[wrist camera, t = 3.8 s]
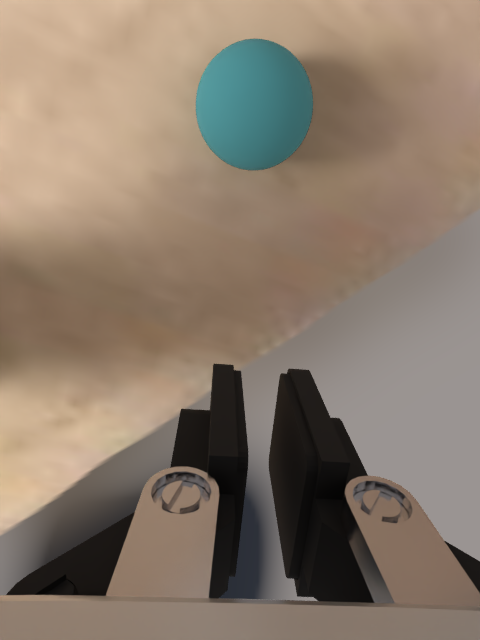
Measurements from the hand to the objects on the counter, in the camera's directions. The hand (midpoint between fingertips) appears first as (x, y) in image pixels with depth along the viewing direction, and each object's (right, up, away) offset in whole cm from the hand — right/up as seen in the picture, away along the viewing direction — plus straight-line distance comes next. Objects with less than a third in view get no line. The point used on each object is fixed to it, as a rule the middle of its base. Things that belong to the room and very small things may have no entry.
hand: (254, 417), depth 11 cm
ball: (0, +14, +10) cm, 17 cm away
